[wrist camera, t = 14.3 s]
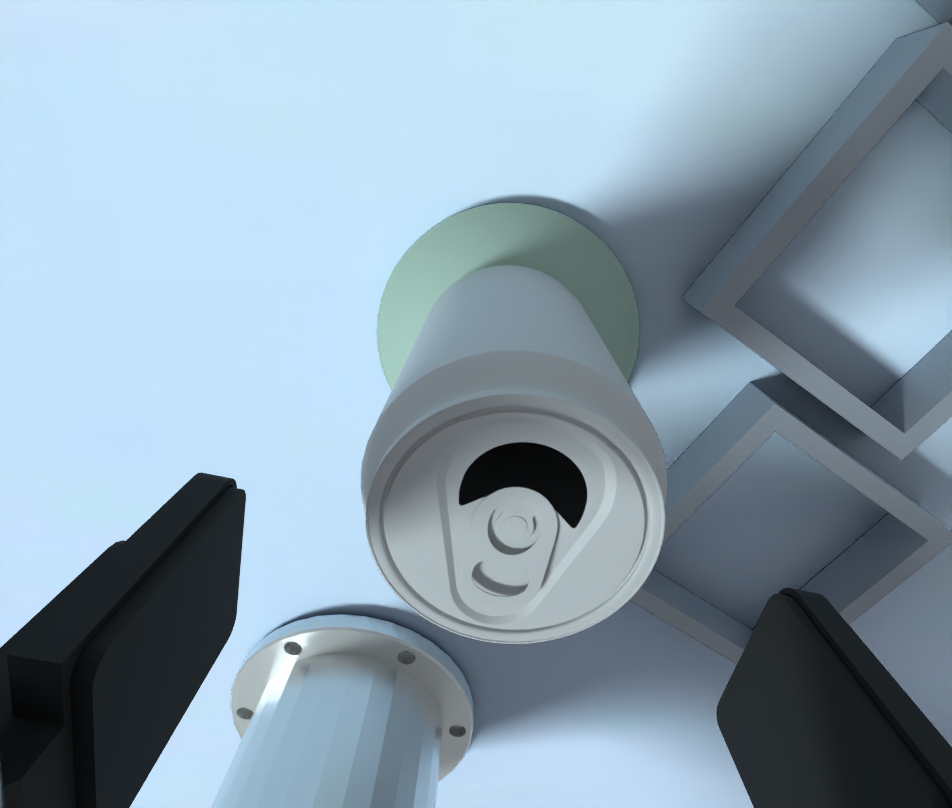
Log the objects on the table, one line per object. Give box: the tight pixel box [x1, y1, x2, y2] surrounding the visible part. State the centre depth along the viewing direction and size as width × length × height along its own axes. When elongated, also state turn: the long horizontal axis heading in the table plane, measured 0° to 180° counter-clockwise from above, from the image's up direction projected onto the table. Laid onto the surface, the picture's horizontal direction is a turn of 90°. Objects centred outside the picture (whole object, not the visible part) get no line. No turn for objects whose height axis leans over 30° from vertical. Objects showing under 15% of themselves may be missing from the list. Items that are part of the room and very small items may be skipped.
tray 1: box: [681, 22, 952, 461], centre depth 19 cm, size 10×10×2 cm
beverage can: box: [361, 265, 667, 644], centre depth 16 cm, size 6×6×12 cm
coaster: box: [377, 203, 640, 390], centre depth 22 cm, size 10×10×1 cm
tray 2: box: [630, 382, 952, 664], centre depth 24 cm, size 10×10×2 cm
